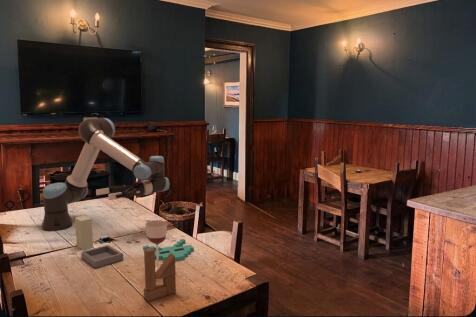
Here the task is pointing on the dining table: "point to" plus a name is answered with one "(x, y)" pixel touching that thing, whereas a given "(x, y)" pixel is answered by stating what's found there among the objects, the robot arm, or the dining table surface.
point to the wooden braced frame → (158, 276)
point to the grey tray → (102, 256)
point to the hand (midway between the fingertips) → (102, 194)
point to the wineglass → (156, 234)
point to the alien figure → (173, 251)
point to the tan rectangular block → (84, 232)
